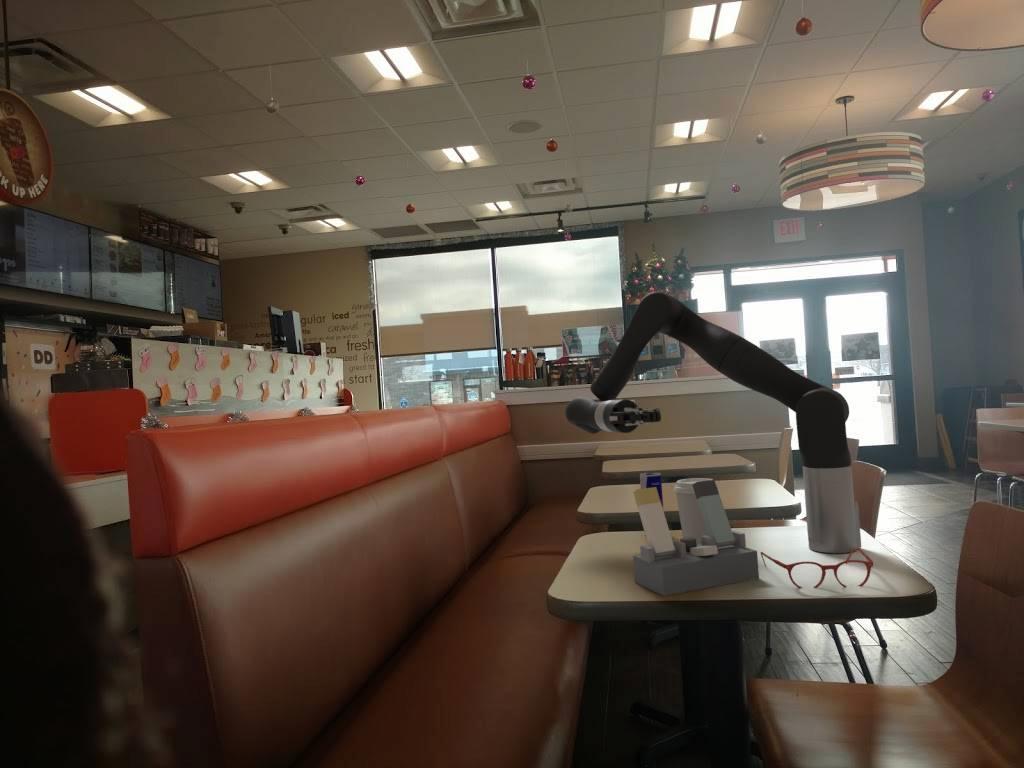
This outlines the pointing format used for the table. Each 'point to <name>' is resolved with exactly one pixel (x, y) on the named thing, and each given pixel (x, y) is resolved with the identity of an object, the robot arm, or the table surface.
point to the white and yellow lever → (654, 522)
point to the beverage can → (652, 483)
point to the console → (696, 565)
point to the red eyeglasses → (825, 567)
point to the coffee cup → (690, 509)
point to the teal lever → (713, 513)
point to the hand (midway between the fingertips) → (656, 416)
